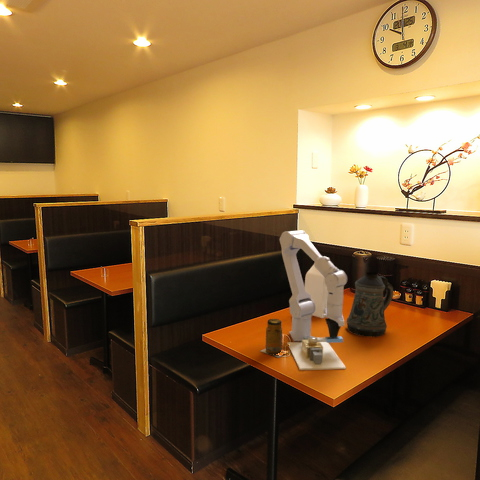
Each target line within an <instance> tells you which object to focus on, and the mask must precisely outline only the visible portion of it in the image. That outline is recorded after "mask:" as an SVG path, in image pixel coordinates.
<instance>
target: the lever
mask: <svg viewBox="0 0 480 480" xmlns="http://www.w3.org/2000/svg"><path fill="white" fill-rule="evenodd" d="M308 342H309V343H317V342H327V343H329V344H330V343H344V338H343V337H342V336H338V335H337V336H336V337H330V336H323V337H321V336H320V337H316V336H312V335H311V336H310V337H308Z"/></svg>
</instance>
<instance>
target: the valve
mask: <svg viewBox="0 0 480 480" xmlns="http://www.w3.org/2000/svg"><path fill="white" fill-rule="evenodd" d="M308 337H310V336H303V340H302V341H301V342H302V352H303V353H304V355H305V357H306V358H310V361H314V363H315V365H321V363H322V358H323V346H322V345H321V343H320V342H317V343H309V342H308Z"/></svg>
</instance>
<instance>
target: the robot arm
mask: <svg viewBox="0 0 480 480" xmlns="http://www.w3.org/2000/svg"><path fill="white" fill-rule="evenodd" d="M278 240H279V243H280V247H281V256H282V260H283V263H284V267H285V271H286V275H287V278H288V282H289V287H290V291H291V293H292V295H291V297H290V298H289V300H288V303H289V314H290V315H291V317H292V319H291V331H289V332H288V333H289V335H290V337H291V339H292V341H293V342H302V340H303V336H312V335H311V333H312V317H313V315H312V314H313V313H314V312H315V310H316V306H315V303H314V301H313V300H312V298H311V295H310V294H308V293H307V292H306V291H305V282H304V280H303V277H302V273H301V269H300V265H299V262H298V259H297V258H298V257H297V253H298V251H300V249H301V250H302V251H303V252H304V253H305V254H306V255H307V256H308V257H309V259H311V260H312V261H314V263H315V267H316V268H317V270H318V271H319V272H320V273H321V274H322V275H323V277H324V278H325V283H326V285H327V291H328V295H327V308H326V309H325V314H324V317H325V318H324V319H325V320H324V321H325V322H326V325H327V329H328V334H329V337H336V336H338V334H339V331H340V329H341V328H342V327H345V325H346V324H345V319H344V316H343V315H344V314H343V310H344V309H343V306H344V305H343V304H344V290H345V288H344V287H345V285H346V284H347V282H348V275H347V274H346V272H345V271H344V270H342V269H339V268H338V267H337V266H335V265H334V263H333V262H332V261H331V259H330V257H327V256H325V255H324V256H323V255H322V254H321V253H320V252H319V251H318V249H317V248H316V247H315V246H314V244H313V243H312V242H311V241H310V237H309V234H307V233H306V231H305V230H303V229H299V230H289V231H288V230H287V231H286V230H285V231H283V232H282V233H281V235H280V237H279V239H278Z"/></svg>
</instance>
